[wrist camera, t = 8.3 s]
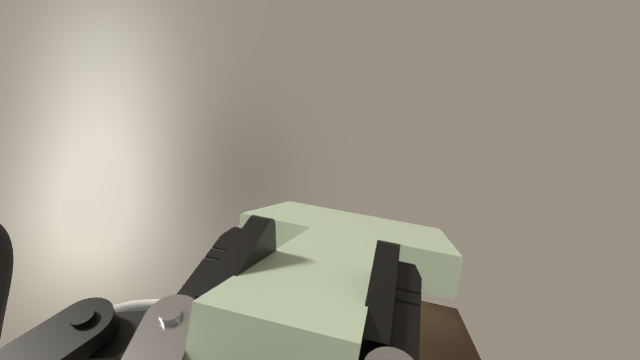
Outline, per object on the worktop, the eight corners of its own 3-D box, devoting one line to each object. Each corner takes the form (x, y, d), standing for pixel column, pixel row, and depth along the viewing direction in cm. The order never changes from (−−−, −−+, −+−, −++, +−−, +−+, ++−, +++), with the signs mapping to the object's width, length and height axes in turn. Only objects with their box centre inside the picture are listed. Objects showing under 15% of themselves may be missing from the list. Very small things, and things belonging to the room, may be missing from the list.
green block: (31, 349, 8) (42, 263, 8) (285, 227, 28) (289, 201, 28) (558, 512, 6) (581, 399, 6) (434, 257, 26) (439, 228, 26)
